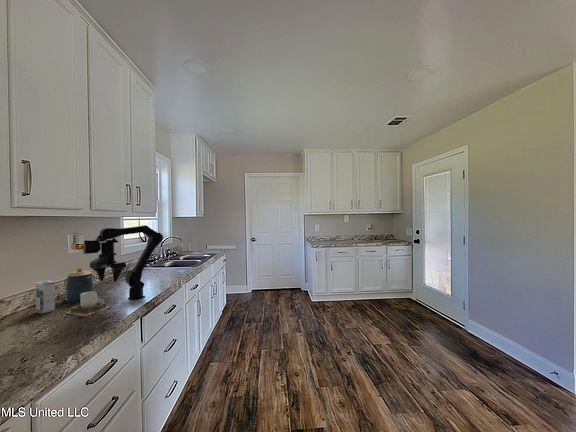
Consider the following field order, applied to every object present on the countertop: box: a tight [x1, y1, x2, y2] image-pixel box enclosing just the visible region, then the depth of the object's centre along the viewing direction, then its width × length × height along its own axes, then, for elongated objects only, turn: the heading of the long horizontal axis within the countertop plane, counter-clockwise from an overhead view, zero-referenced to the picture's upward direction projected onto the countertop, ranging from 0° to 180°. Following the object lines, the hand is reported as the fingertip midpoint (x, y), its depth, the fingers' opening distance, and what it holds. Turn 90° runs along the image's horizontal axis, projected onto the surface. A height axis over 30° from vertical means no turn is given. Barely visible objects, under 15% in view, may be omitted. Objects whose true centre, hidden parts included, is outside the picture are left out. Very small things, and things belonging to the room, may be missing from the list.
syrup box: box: [35, 280, 56, 314], centre depth 136 cm, size 6×6×14 cm
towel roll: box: [79, 291, 98, 309], centre depth 136 cm, size 6×6×8 cm
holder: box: [64, 301, 112, 318], centre depth 136 cm, size 13×13×3 cm
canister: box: [64, 267, 95, 303], centre depth 156 cm, size 13×13×18 cm
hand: (108, 281), depth 147 cm, fingers open, 9 cm apart
